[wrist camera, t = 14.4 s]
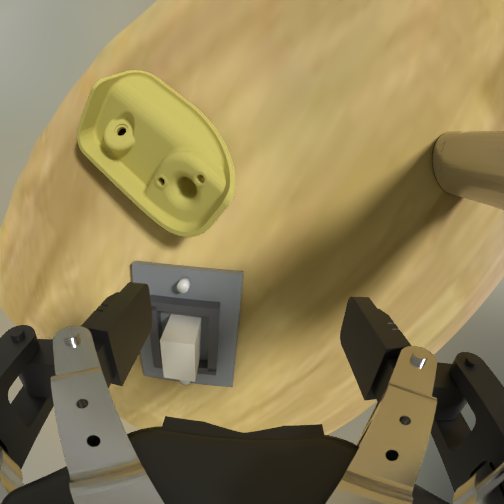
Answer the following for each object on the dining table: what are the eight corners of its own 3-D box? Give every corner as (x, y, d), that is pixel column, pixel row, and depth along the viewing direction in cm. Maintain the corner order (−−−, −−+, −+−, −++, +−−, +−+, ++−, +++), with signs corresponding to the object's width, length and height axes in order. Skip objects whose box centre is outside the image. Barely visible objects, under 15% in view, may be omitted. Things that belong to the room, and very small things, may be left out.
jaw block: (201, 317, 35) (194, 344, 30) (200, 352, 37) (195, 381, 31) (171, 313, 35) (160, 340, 29) (173, 349, 37) (163, 377, 31)
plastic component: (73, 143, 27) (98, 71, 20) (113, 128, 32) (142, 66, 26) (188, 252, 30) (241, 191, 24) (216, 220, 35) (266, 166, 29)
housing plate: (243, 271, 34) (243, 280, 32) (232, 382, 40) (232, 395, 38) (134, 260, 34) (126, 268, 31) (145, 371, 40) (141, 383, 37)
